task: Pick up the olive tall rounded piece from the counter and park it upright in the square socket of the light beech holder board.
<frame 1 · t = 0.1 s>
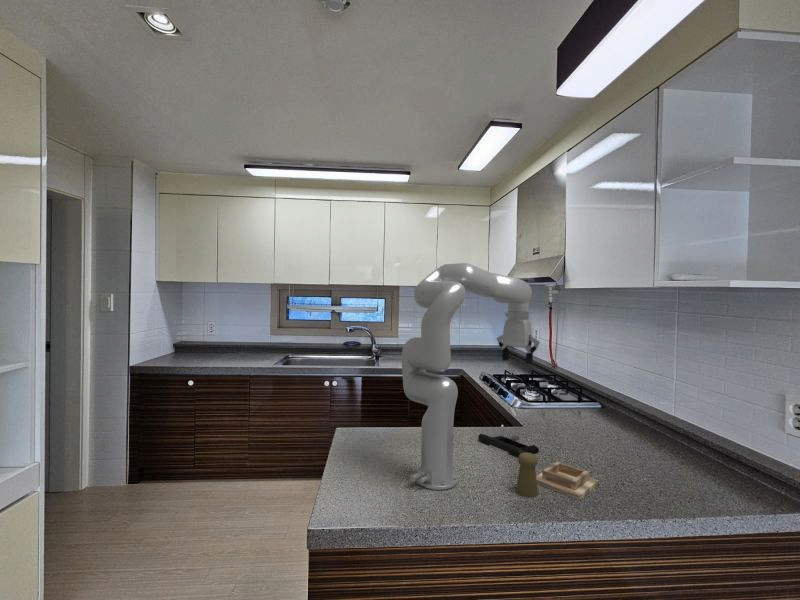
hand: (517, 361, 152), 31 cm above the worktop, tool pointing down, fingers open, 9 cm apart
door handle: (510, 447, 151), on the worktop
holder: (565, 483, 122), on the worktop
olive tall rounded piece: (526, 493, 116), on the worktop
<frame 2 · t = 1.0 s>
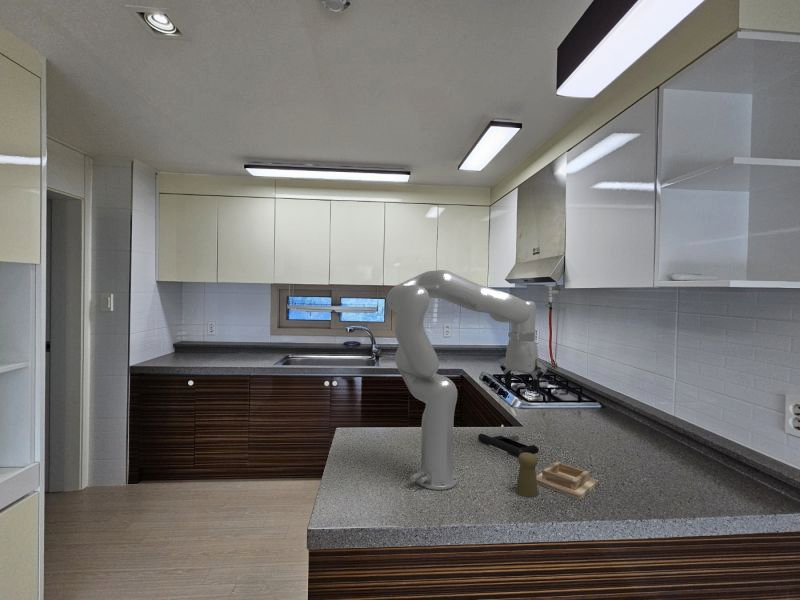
hand: (521, 388, 136), 25 cm above the worktop, tool pointing down, fingers open, 9 cm apart
nothing on the worktop moved.
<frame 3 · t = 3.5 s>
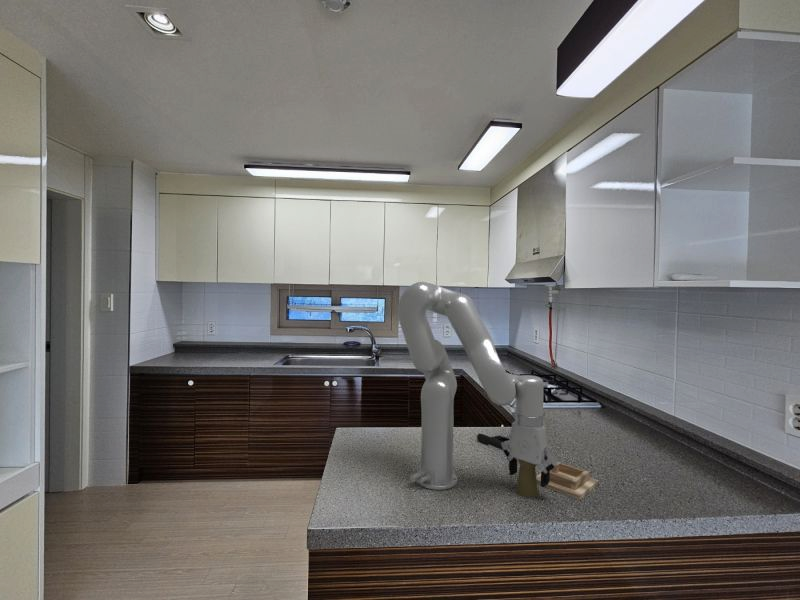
hand: (528, 479, 115), 4 cm above the worktop, tool pointing down, fingers open, 9 cm apart
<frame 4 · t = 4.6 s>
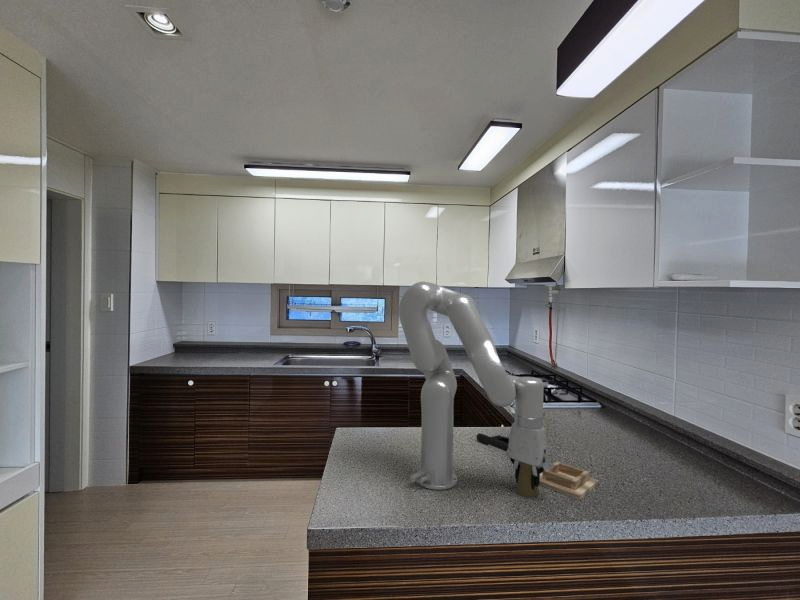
hand: (527, 484, 116), 2 cm above the worktop, tool pointing down, fingers closed on olive tall rounded piece, 4 cm apart
olive tall rounded piece: (526, 493, 116), on the worktop, touching gripper
everything else where it was.
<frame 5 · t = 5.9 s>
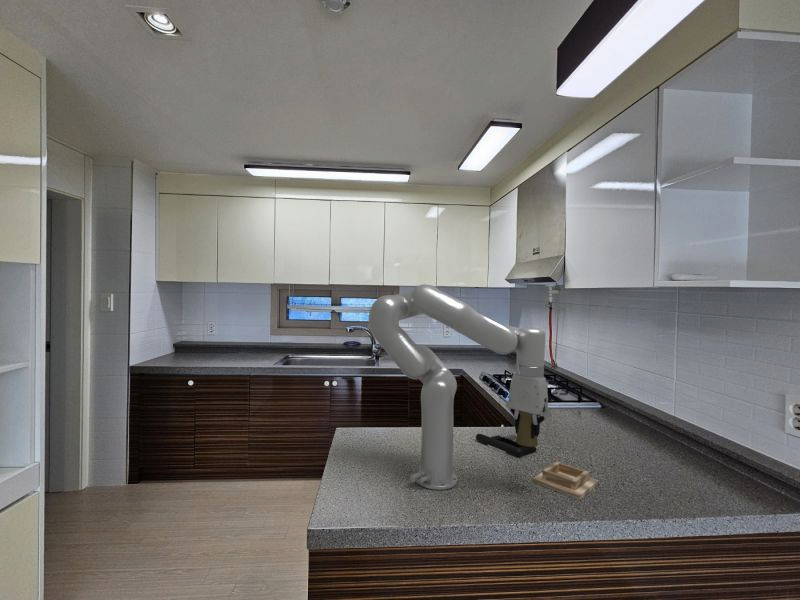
hand: (526, 434, 115), 17 cm above the worktop, tool pointing down, fingers closed on olive tall rounded piece, 4 cm apart
olive tall rounded piece: (526, 443, 115), point 14 cm above the worktop, touching gripper
everything else where it was.
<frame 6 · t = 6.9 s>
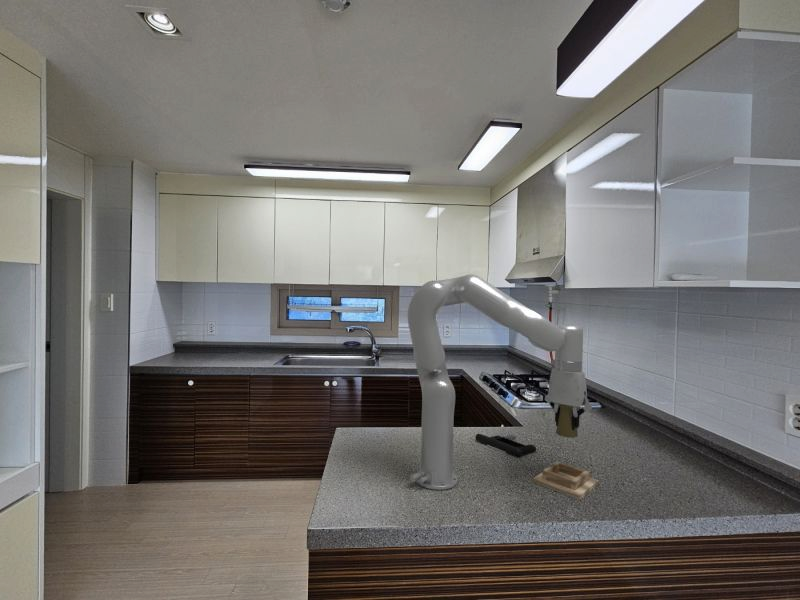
hand: (566, 426, 121), 17 cm above the worktop, tool pointing down, fingers closed on olive tall rounded piece, 4 cm apart
olive tall rounded piece: (566, 434, 121), point 15 cm above the worktop, touching gripper
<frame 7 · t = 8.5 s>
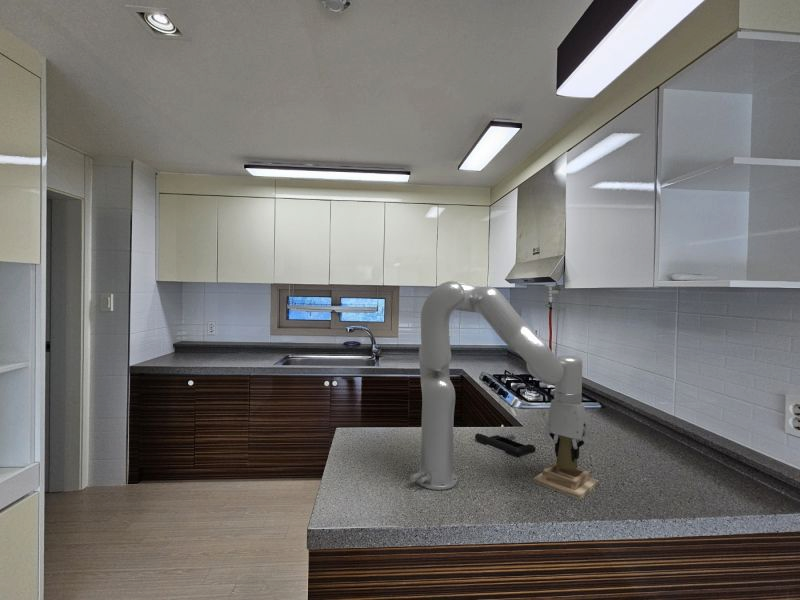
hand: (566, 457, 122), 8 cm above the worktop, tool pointing down, fingers closed on olive tall rounded piece, 4 cm apart
olive tall rounded piece: (566, 465, 122), point 5 cm above the worktop, touching gripper
when the fingers open (5 cm above the worktop, at t = 9.8 s): olive tall rounded piece drops 1 cm, resting on holder.
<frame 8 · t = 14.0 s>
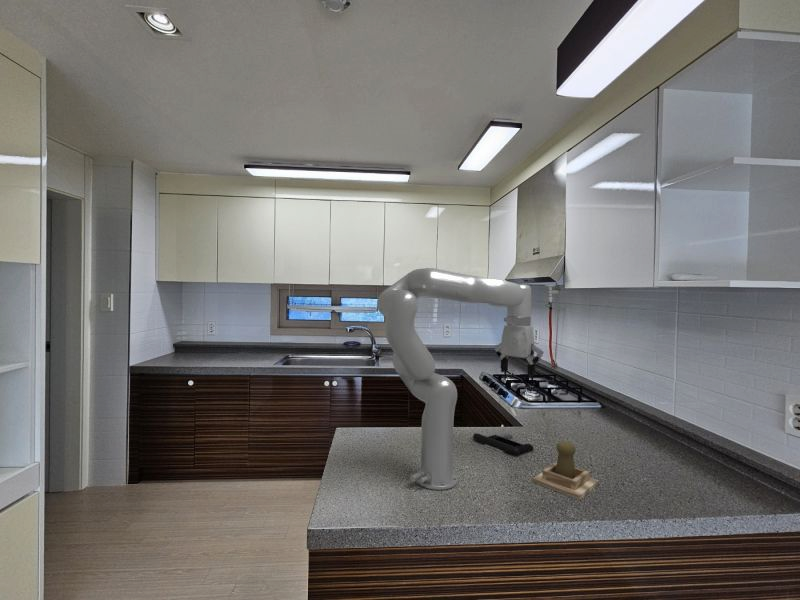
hand: (517, 373, 133), 30 cm above the worktop, tool pointing down, fingers open, 9 cm apart
olive tall rounded piece: (565, 479, 122), point 1 cm above the worktop, touching holder
at the end: olive tall rounded piece 0.2 cm off-centre on the holder, point 1.0 cm above the holder's base; olive tall rounded piece tilted 0°; the gripper is holding nothing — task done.
